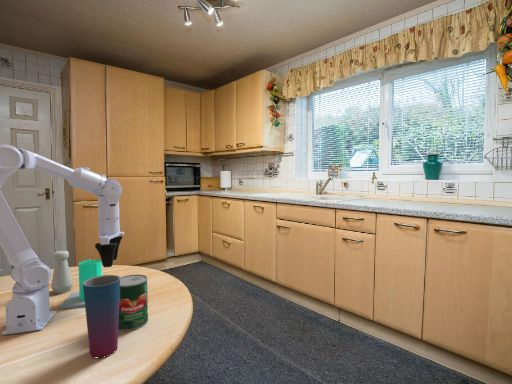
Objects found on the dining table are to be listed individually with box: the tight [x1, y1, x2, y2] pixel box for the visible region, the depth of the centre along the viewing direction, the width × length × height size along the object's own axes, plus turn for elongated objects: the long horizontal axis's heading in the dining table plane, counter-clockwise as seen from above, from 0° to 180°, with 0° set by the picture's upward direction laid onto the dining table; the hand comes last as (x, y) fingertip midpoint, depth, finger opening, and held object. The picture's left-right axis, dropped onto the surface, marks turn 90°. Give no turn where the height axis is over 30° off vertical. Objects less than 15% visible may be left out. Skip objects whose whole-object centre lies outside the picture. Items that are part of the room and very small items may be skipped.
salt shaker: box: [50, 250, 74, 295], centre depth 92 cm, size 6×6×13 cm
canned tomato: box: [118, 274, 149, 332], centre depth 71 cm, size 8×8×11 cm
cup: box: [83, 274, 121, 358], centre depth 59 cm, size 7×7×15 cm
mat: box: [59, 292, 85, 311], centre depth 85 cm, size 10×10×1 cm
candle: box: [78, 259, 103, 300], centre depth 86 cm, size 6×6×12 cm
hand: (110, 263), depth 87 cm, fingers open, 7 cm apart
